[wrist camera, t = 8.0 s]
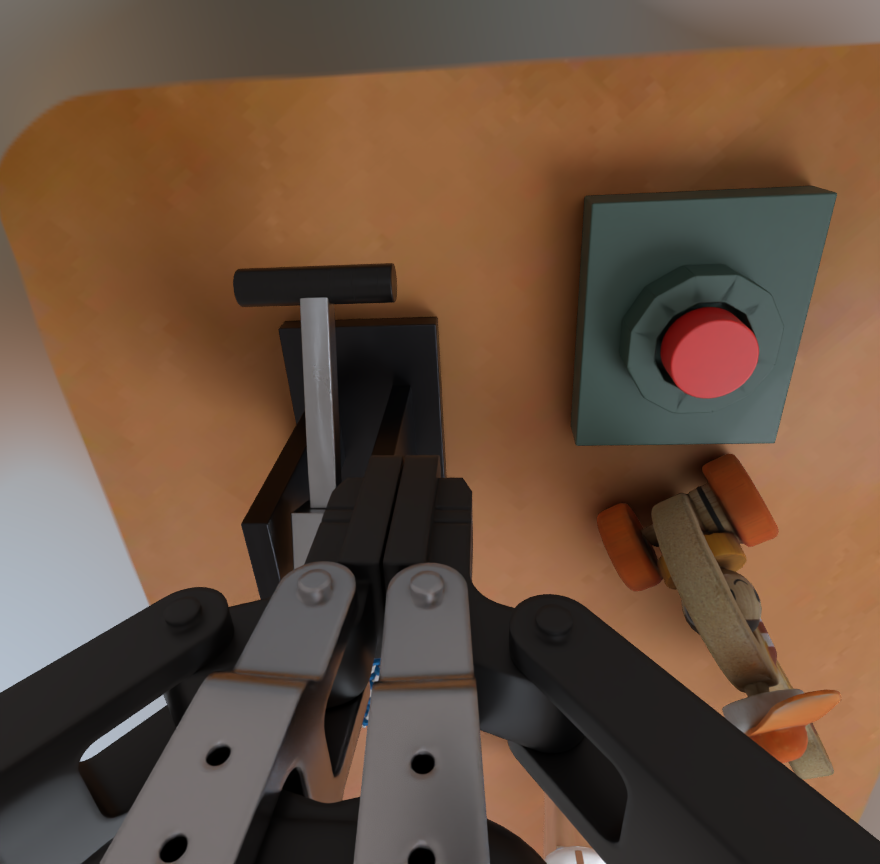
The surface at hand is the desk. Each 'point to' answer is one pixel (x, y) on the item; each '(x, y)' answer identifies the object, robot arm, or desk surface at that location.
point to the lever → (317, 363)
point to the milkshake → (564, 839)
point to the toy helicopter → (724, 603)
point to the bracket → (351, 422)
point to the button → (709, 352)
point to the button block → (690, 307)
